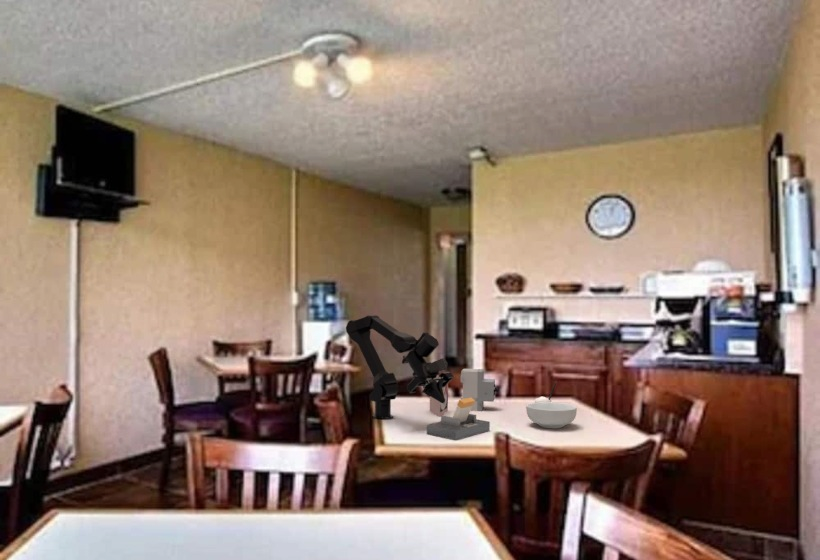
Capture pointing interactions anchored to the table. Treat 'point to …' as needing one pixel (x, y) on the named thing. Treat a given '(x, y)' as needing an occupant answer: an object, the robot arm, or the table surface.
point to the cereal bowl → (551, 414)
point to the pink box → (439, 403)
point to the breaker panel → (458, 427)
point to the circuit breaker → (477, 387)
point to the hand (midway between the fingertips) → (443, 402)
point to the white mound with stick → (544, 399)
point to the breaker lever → (463, 409)
